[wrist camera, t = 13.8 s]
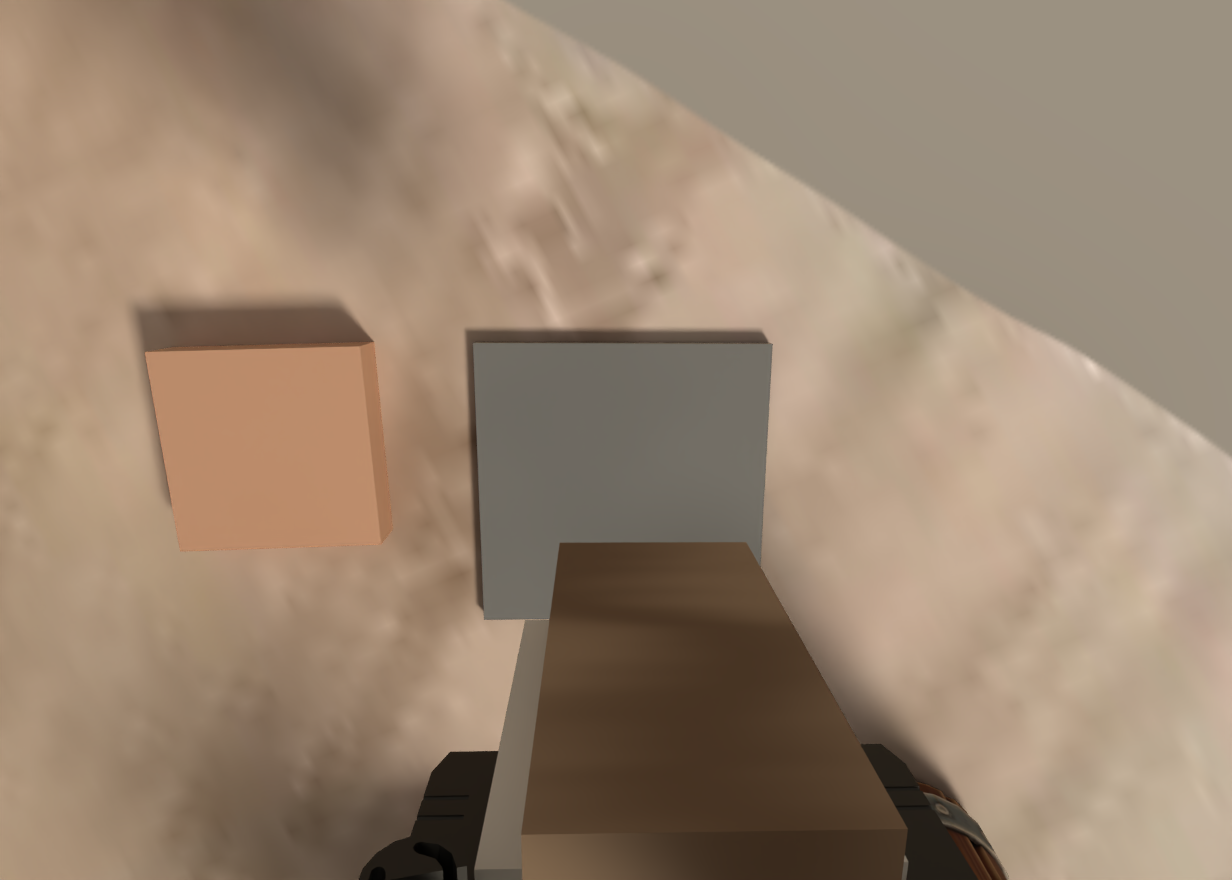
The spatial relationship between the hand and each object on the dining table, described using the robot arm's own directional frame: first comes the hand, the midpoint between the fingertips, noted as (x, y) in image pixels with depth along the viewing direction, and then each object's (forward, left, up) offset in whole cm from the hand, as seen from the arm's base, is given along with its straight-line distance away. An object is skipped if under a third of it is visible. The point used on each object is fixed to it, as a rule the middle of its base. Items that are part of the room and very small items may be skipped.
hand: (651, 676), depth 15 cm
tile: (-14, -2, -14) cm, 20 cm away
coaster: (0, 0, -15) cm, 15 cm away
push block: (0, 0, 0) cm, 0 cm away
